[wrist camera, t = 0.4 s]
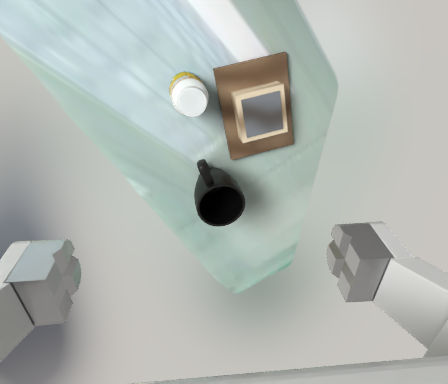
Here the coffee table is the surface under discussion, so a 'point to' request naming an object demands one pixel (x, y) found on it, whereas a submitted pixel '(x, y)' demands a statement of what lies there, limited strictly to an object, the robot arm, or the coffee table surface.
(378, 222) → the robot arm
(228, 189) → the mug
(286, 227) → the coffee table surface
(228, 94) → the wooden stand
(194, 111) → the supplement bottle
